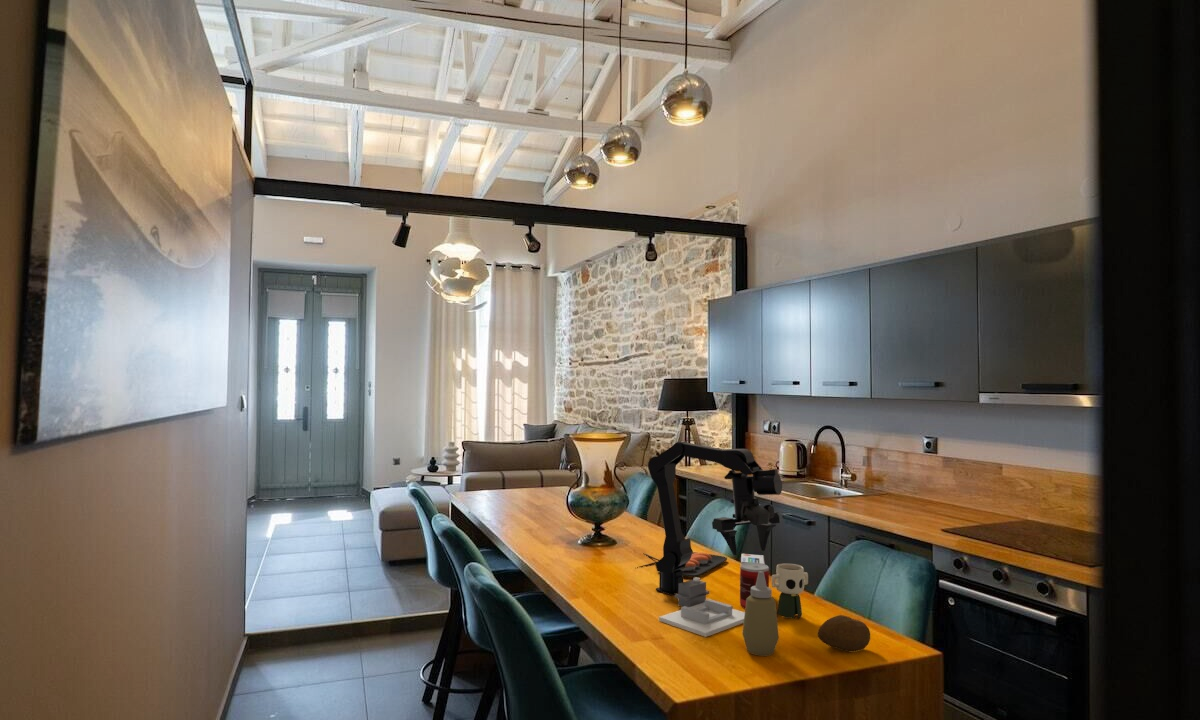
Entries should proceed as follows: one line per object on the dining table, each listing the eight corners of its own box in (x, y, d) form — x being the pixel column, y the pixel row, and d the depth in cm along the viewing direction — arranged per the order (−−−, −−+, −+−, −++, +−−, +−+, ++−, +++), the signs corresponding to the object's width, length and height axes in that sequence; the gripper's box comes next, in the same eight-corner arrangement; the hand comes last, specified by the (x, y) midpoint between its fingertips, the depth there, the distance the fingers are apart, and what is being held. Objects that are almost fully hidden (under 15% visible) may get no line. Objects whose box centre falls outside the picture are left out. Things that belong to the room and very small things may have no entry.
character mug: (778, 622, 182) (779, 571, 182) (764, 614, 188) (764, 564, 189) (815, 619, 185) (815, 568, 185) (799, 610, 192) (800, 562, 192)
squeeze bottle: (737, 645, 165) (739, 567, 166) (771, 645, 166) (772, 567, 167) (748, 659, 157) (749, 577, 158) (783, 658, 158) (784, 577, 159)
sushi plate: (695, 582, 219) (695, 570, 219) (611, 567, 235) (612, 555, 235) (730, 562, 244) (730, 551, 244) (652, 550, 259) (652, 540, 260)
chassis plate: (658, 620, 181) (659, 607, 181) (707, 604, 195) (707, 592, 195) (705, 636, 170) (705, 622, 171) (753, 618, 184) (753, 605, 184)
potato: (878, 654, 161) (878, 620, 162) (829, 658, 159) (829, 623, 159) (857, 642, 169) (857, 609, 170) (810, 645, 167) (811, 612, 167)
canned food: (769, 603, 197) (770, 563, 198) (766, 612, 190) (767, 571, 190) (742, 600, 200) (742, 561, 200) (737, 609, 192) (738, 568, 193)
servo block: (674, 606, 193) (675, 580, 193) (697, 599, 200) (698, 574, 200) (686, 610, 190) (686, 584, 191) (709, 603, 197) (709, 577, 197)
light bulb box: (764, 602, 199) (765, 563, 199) (740, 600, 200) (740, 561, 200) (763, 591, 209) (764, 554, 210) (740, 589, 211) (741, 553, 211)
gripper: (731, 500, 185) (736, 562, 183) (790, 493, 192) (795, 552, 190) (708, 498, 195) (713, 556, 193) (765, 491, 202) (770, 546, 200)
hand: (749, 552), depth 194 cm, fingers open, 9 cm apart
